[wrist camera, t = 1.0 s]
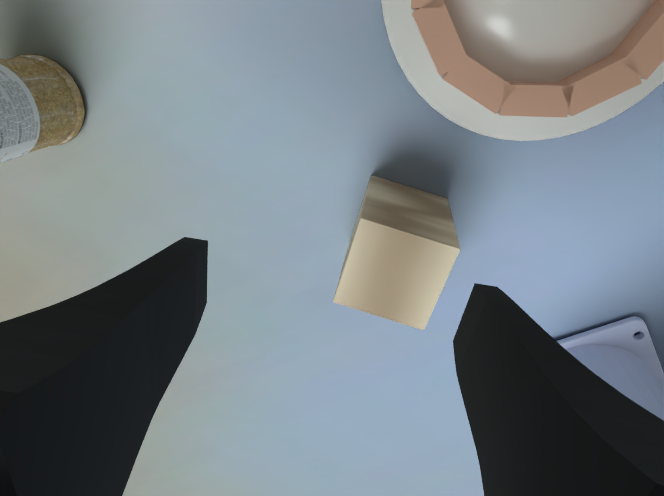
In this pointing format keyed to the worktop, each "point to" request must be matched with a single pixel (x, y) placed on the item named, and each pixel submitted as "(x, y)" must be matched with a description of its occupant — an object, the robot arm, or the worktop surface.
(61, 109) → the sprinkles bottle
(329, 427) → the worktop surface
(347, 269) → the beige wooden block
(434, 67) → the collar dish
